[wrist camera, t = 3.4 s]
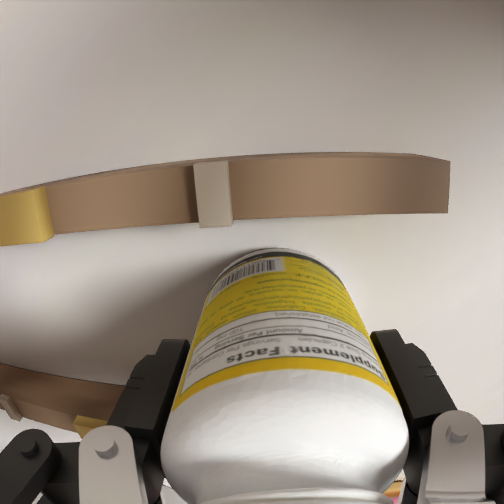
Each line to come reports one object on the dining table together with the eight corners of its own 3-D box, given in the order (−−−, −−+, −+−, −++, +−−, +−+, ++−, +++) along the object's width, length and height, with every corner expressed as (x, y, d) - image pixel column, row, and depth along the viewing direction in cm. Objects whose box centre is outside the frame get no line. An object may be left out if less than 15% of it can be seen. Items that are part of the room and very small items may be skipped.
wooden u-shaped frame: (414, 152, 10) (461, 161, 7) (381, 402, 14) (396, 449, 11) (-85, 219, 12) (-116, 234, 9) (-31, 369, 16) (-52, 392, 13)
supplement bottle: (310, 378, 13) (334, 598, 4) (190, 341, 13) (117, 574, 4) (373, 274, 11) (508, 519, 2) (235, 220, 11) (133, 528, 2)
